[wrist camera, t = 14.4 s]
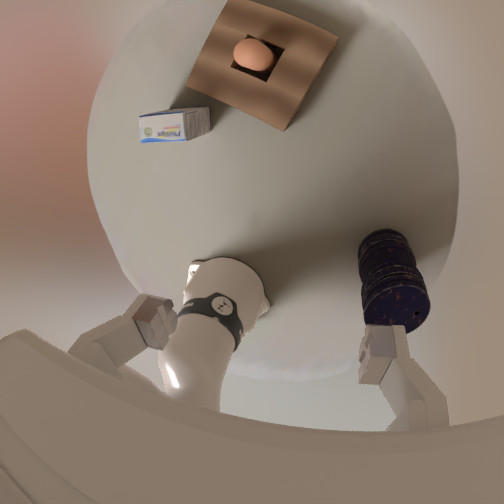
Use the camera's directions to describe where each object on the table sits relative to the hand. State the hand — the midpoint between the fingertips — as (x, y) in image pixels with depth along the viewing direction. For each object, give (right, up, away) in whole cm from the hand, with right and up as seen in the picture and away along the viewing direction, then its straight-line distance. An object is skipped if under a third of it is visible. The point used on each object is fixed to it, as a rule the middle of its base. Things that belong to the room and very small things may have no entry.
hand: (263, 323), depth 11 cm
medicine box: (-11, +25, +30) cm, 40 cm away
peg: (+1, +31, +22) cm, 38 cm away
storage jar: (+23, +3, +33) cm, 41 cm away
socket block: (+1, +31, +22) cm, 38 cm away
